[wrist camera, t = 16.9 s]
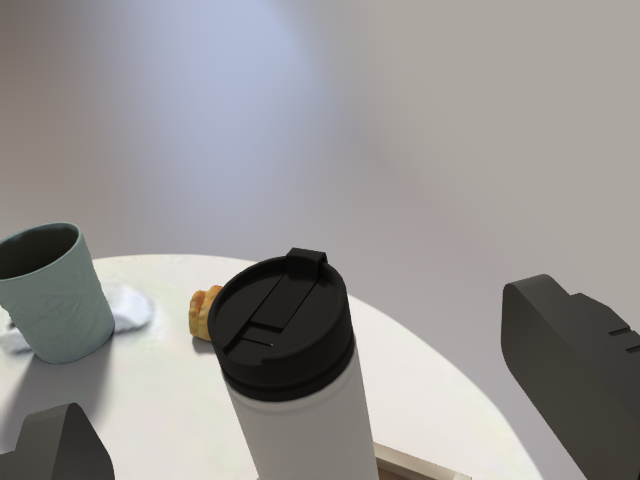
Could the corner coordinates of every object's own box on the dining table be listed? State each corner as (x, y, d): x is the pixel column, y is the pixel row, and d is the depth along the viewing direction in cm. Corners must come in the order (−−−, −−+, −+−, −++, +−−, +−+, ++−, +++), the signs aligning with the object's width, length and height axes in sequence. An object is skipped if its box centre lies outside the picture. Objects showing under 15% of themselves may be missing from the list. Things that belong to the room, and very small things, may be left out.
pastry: (283, 296, 61) (276, 269, 58) (278, 339, 55) (270, 310, 53) (202, 305, 61) (193, 279, 59) (189, 348, 56) (178, 321, 54)
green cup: (86, 299, 66) (43, 215, 60) (142, 319, 61) (102, 229, 54) (11, 355, 59) (-46, 267, 53) (67, 383, 54) (11, 289, 48)
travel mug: (405, 510, 35) (372, 256, 24) (365, 618, 30) (301, 361, 19) (319, 478, 37) (255, 238, 27) (270, 571, 33) (169, 325, 22)
